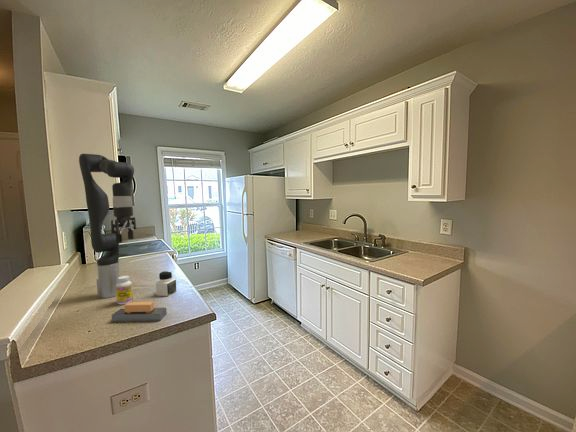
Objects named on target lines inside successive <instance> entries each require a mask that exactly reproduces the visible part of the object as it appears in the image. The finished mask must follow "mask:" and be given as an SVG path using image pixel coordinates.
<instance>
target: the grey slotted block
mask: <svg viewBox="0 0 576 432" xmlns="http://www.w3.org/2000/svg"><path fill="white" fill-rule="evenodd" d="M167 312H168V311H167V307H154V309H153V310H152V312H151V313H146V312H133V313H132V314H127V312H125V310H124V308H120V309H118V310H117V311H115V312H114V313H113V314H111V322H112V323H122V322H123V323H124V322H126V323H127V322H135V323H136V322H161V320H162V319H164V317H165V316H167V314H168V313H167Z"/></svg>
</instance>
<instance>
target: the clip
mask: <svg viewBox="0 0 576 432" xmlns="http://www.w3.org/2000/svg"><path fill="white" fill-rule="evenodd" d="M123 305H124V306H123V307H124V308H123V309H124V310H125V312H127V314H132V313H133V312H146V313H151V312H152V310H153V309H154V308H155V302H154V301H132V302H128V303H127V304H123Z"/></svg>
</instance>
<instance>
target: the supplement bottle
mask: <svg viewBox="0 0 576 432" xmlns="http://www.w3.org/2000/svg"><path fill="white" fill-rule="evenodd" d="M118 281H119V282H118V283H117V284H116V296H115V297H116V303H117V304H118V305H125V304H127V303H128V302H133V297H134V296H133V282H132V281H131V280H130V276H129V275H122V276H121V275H120V277H119V278H118Z"/></svg>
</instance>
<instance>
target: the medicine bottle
mask: <svg viewBox="0 0 576 432" xmlns="http://www.w3.org/2000/svg"><path fill="white" fill-rule="evenodd" d="M158 274H159V277H158V279H159V281H156V282H155V292H156V294H155V295H156V296H157V297H158V296H159V297H170V296H171V295H173V294H175V293H176V292H177V279H175V278H173V272H172V271H170V270H165V271H164V270H163V271H161V272H160V273H158Z"/></svg>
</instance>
